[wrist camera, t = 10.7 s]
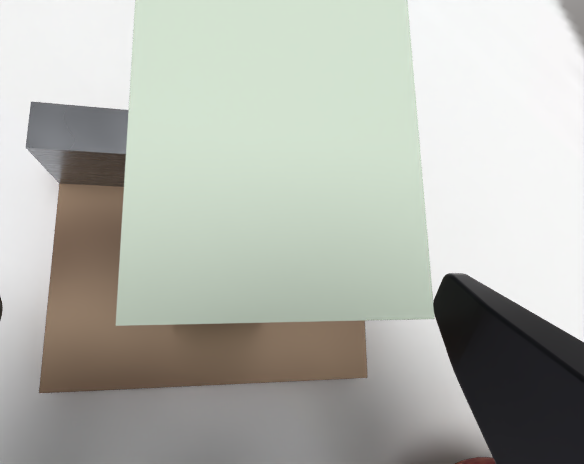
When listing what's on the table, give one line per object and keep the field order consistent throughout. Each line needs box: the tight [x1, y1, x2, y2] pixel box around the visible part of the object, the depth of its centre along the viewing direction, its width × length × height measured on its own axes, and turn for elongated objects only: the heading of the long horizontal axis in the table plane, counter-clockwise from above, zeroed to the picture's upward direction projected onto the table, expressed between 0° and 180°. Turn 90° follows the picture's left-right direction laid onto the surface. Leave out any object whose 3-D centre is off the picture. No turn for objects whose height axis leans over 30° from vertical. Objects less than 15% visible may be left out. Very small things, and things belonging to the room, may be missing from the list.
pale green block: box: [116, 0, 434, 326], centre depth 11 cm, size 4×4×12 cm
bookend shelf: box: [26, 102, 367, 393], centre depth 16 cm, size 9×12×5 cm
